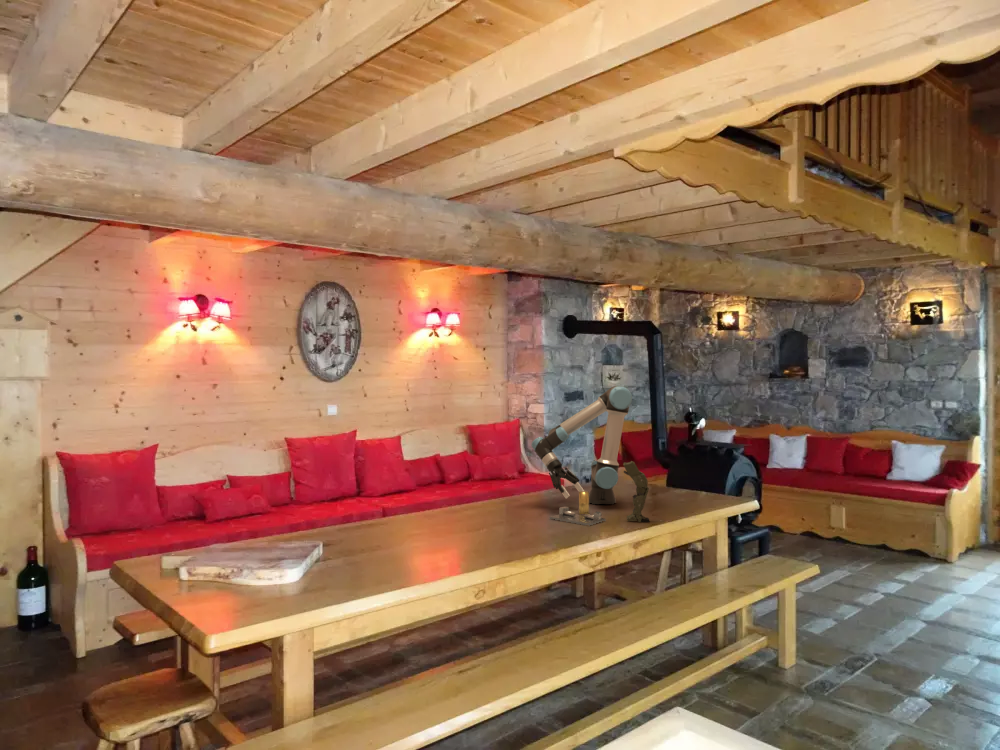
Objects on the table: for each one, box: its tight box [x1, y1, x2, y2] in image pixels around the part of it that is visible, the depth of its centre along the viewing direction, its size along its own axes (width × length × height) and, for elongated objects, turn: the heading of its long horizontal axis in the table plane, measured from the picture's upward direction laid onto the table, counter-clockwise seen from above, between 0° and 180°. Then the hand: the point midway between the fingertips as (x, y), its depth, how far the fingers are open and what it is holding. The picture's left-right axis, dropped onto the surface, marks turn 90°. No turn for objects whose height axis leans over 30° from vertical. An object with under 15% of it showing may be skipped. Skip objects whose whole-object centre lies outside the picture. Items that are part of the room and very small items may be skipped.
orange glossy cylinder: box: [578, 490, 590, 515], centre depth 360 cm, size 5×5×11 cm
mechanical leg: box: [622, 460, 651, 523], centre depth 343 cm, size 14×7×30 cm, turn 84°
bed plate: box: [549, 506, 607, 527], centre depth 344 cm, size 23×14×5 cm, turn 50°
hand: (575, 495), depth 362 cm, fingers open, 13 cm apart
